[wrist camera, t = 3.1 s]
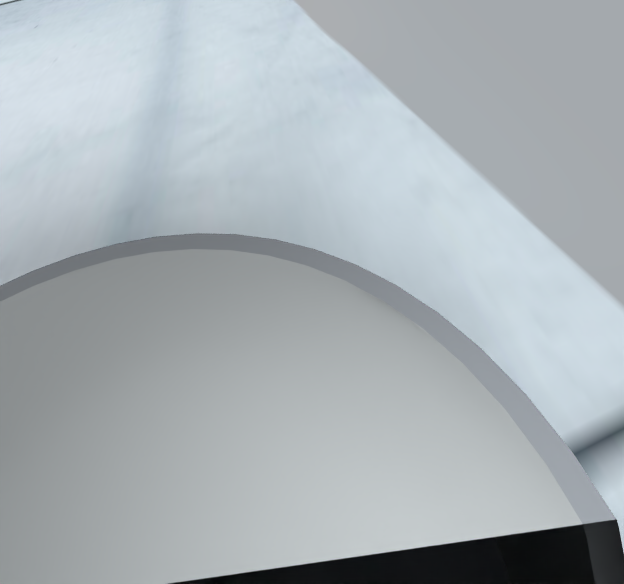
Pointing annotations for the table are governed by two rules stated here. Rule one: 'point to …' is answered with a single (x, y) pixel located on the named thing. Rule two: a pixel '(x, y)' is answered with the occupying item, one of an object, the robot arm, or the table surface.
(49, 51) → the table surface
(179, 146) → the table surface
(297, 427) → the capped white cylinder
